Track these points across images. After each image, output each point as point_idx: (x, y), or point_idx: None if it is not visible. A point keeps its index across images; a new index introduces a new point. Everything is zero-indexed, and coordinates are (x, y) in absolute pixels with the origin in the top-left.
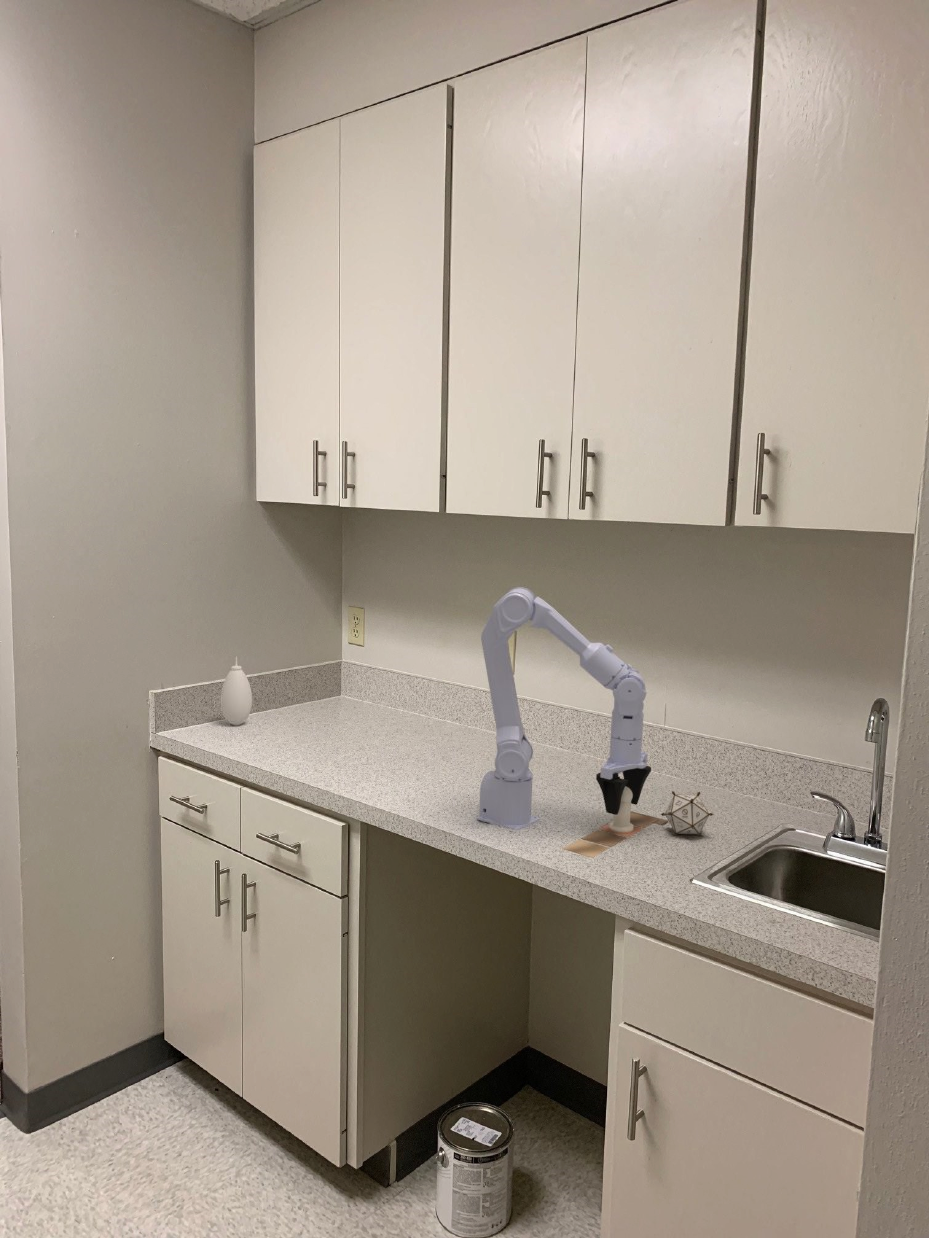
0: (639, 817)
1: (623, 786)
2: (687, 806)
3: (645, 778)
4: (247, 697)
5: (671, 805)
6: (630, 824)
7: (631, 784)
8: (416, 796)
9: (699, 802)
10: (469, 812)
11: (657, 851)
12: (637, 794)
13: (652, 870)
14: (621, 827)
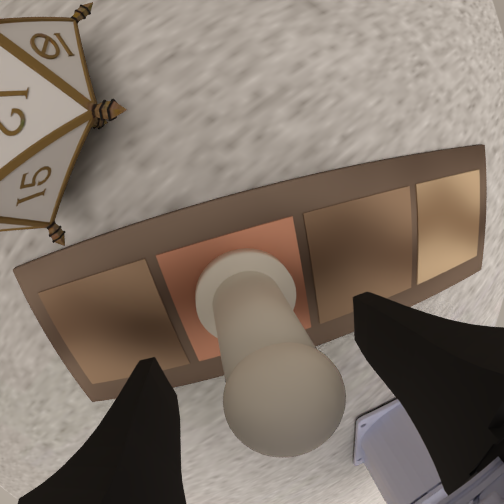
0: (89, 343)
1: (502, 348)
2: (14, 38)
3: (76, 471)
4: None
5: (26, 175)
6: (209, 288)
7: (161, 466)
8: (376, 491)
9: None
10: None
11: (296, 59)
12: (144, 396)
13: (417, 12)
14: (273, 280)
